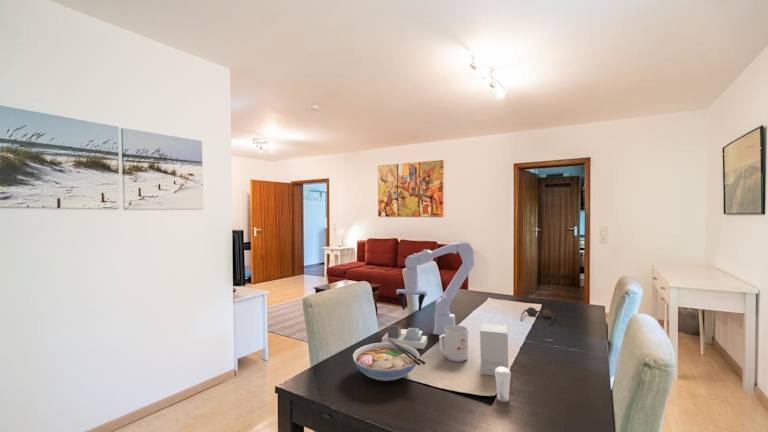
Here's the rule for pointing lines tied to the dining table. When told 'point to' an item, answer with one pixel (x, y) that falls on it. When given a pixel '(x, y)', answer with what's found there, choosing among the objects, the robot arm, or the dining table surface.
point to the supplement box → (493, 348)
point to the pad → (403, 331)
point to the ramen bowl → (386, 360)
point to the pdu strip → (402, 338)
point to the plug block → (412, 334)
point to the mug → (455, 343)
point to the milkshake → (502, 383)
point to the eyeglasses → (544, 313)
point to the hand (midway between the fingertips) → (411, 309)
